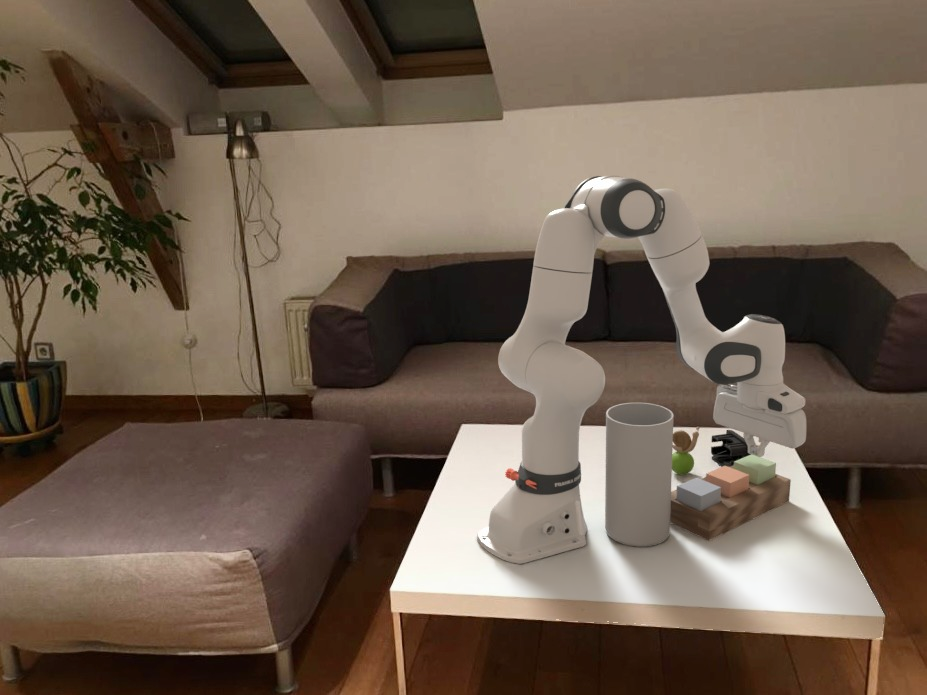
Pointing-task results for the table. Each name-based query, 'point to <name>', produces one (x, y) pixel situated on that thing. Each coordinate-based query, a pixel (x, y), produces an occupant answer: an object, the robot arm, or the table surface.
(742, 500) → the key panel
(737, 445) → the end cap
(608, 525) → the cylinder vase
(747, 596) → the table surface
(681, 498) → the slate key
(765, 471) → the sage key
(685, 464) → the snail figurine
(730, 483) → the terracotta key
